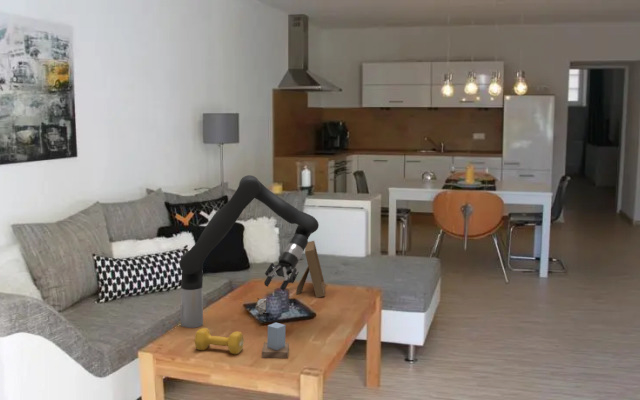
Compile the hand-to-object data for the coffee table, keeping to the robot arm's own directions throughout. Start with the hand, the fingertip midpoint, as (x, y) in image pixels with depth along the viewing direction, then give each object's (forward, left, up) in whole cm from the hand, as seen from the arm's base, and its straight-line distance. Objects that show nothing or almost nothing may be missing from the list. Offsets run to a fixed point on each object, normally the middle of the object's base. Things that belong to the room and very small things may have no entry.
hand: (273, 287), depth 280 cm
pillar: (+3, -18, -19) cm, 27 cm away
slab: (+3, -19, -22) cm, 29 cm away
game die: (-7, +29, -22) cm, 37 cm away
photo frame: (+13, +67, -22) cm, 72 cm away
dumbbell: (-20, -17, -22) cm, 34 cm away
